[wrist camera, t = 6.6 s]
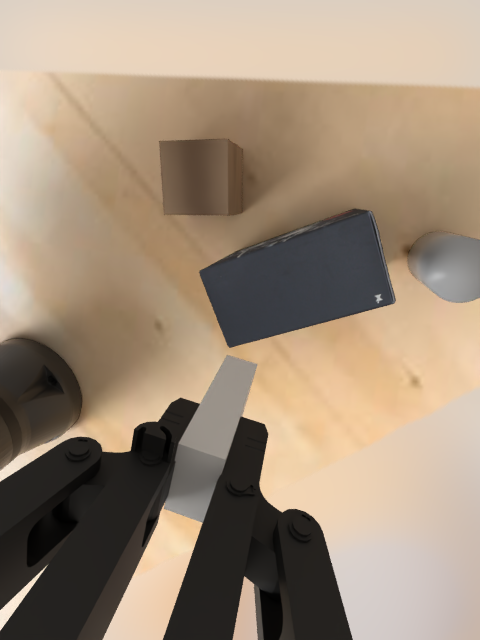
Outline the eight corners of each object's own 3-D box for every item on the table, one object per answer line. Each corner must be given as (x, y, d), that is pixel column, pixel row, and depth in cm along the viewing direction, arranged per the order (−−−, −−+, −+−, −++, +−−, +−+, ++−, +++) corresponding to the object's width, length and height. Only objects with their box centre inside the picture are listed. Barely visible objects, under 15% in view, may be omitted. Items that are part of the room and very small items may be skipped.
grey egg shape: (398, 274, 35) (417, 291, 28) (421, 224, 33) (446, 230, 27) (449, 290, 34) (480, 310, 28) (475, 239, 32) (513, 249, 26)
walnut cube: (187, 212, 37) (163, 214, 32) (184, 150, 35) (159, 141, 30) (242, 213, 36) (228, 215, 31) (242, 148, 34) (227, 138, 29)
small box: (357, 204, 34) (375, 206, 23) (375, 271, 35) (401, 304, 24) (232, 250, 38) (196, 271, 27) (254, 309, 39) (228, 352, 28)
